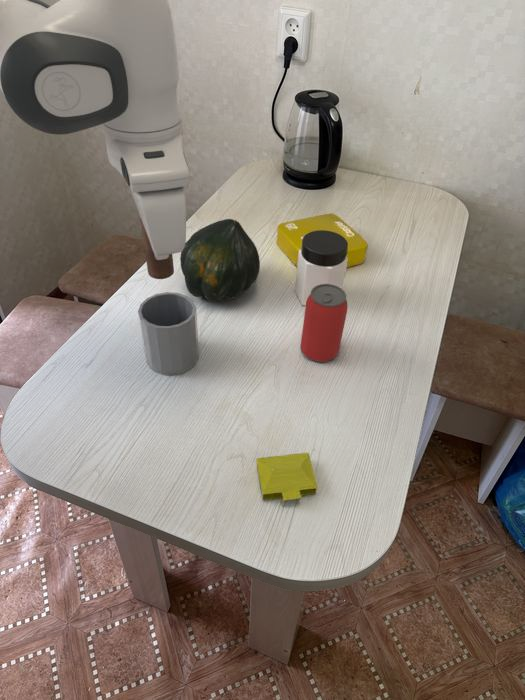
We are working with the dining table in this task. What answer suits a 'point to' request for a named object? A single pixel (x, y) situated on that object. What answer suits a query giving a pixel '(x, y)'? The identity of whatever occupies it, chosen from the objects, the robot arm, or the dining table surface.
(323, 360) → the beer can
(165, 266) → the brown bottle
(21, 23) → the robot arm
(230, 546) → the dining table surface
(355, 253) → the yellow box
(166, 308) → the steel cup
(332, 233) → the jar
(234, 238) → the squash
